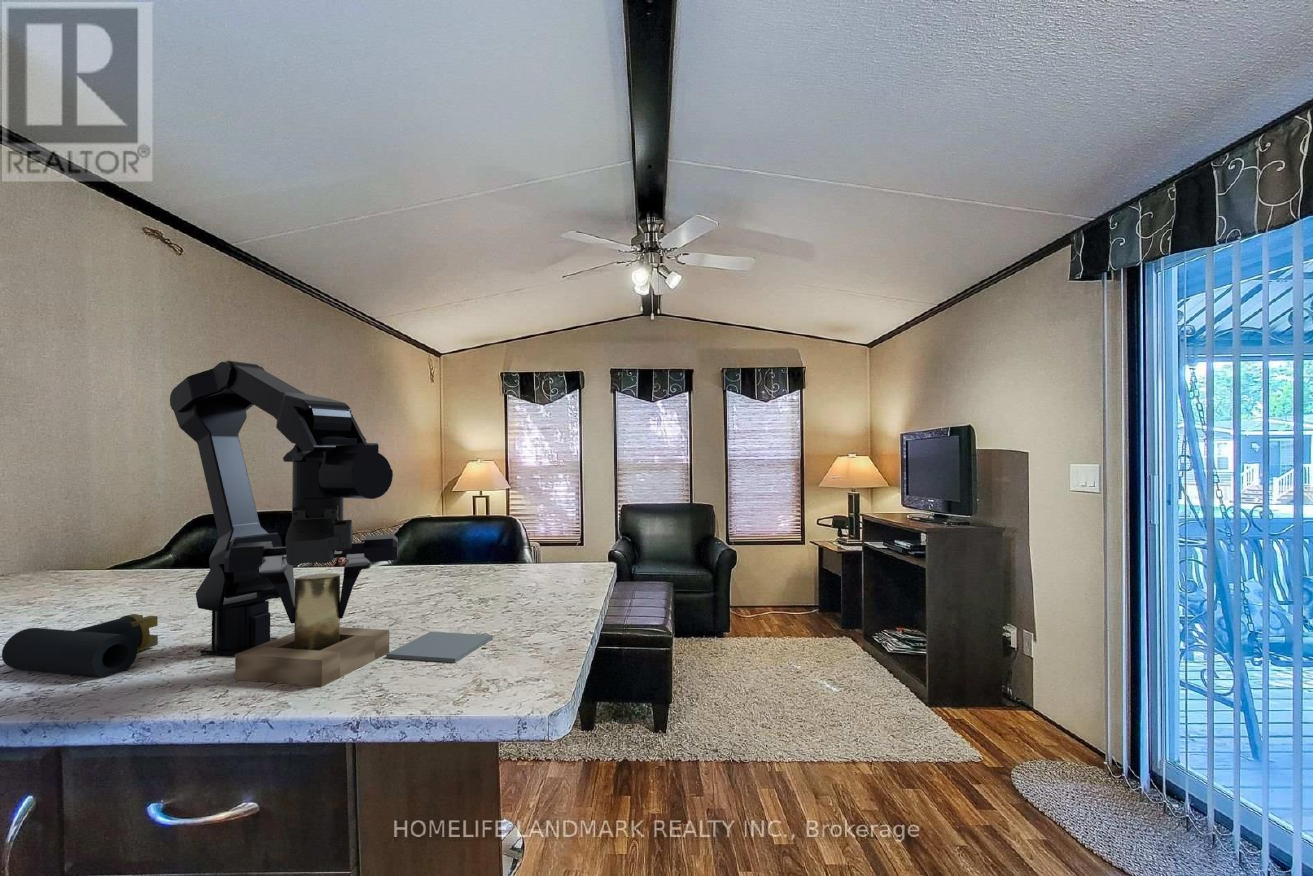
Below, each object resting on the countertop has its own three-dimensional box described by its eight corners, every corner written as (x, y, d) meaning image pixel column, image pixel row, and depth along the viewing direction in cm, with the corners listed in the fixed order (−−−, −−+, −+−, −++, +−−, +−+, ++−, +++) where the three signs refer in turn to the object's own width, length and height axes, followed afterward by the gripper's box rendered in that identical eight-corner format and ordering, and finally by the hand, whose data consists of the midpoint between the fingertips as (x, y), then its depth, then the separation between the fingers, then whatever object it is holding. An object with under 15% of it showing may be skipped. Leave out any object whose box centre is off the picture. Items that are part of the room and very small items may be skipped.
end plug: (284, 653, 73) (285, 580, 73) (315, 641, 78) (316, 572, 78) (319, 656, 72) (319, 582, 72) (348, 643, 77) (348, 573, 77)
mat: (386, 657, 77) (386, 654, 77) (430, 635, 87) (430, 631, 87) (455, 662, 75) (455, 658, 75) (492, 638, 85) (492, 635, 85)
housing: (235, 679, 70) (235, 654, 70) (313, 647, 82) (313, 625, 82) (321, 686, 68) (321, 660, 68) (389, 652, 80) (389, 630, 80)
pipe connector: (105, 608, 85) (188, 613, 82) (106, 645, 85) (188, 652, 82) (1, 633, 74) (92, 641, 70) (1, 676, 74) (92, 685, 70)
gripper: (210, 505, 65) (209, 649, 64) (397, 498, 72) (396, 627, 71) (237, 498, 75) (236, 622, 74) (398, 493, 82) (397, 606, 82)
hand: (317, 620), depth 75 cm, fingers closed on end plug, 5 cm apart
